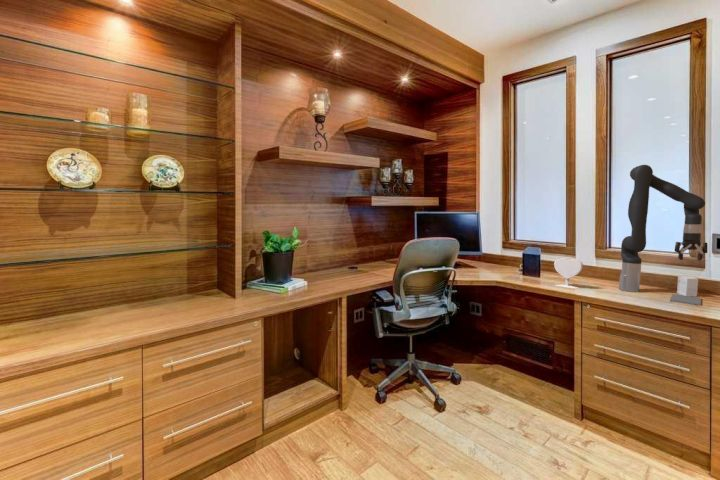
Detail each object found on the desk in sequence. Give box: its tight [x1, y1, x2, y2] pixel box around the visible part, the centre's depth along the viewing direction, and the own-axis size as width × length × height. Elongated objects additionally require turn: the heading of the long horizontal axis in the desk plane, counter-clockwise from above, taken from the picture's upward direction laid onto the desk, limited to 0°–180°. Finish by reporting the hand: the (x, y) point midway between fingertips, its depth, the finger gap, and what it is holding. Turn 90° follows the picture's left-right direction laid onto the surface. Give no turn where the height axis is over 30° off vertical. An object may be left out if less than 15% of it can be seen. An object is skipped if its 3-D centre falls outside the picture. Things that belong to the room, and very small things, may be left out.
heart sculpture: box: [553, 257, 584, 290], centre depth 226 cm, size 16×5×18 cm, turn 42°
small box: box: [676, 275, 699, 297], centre depth 206 cm, size 8×6×10 cm
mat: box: [669, 293, 702, 306], centre depth 194 cm, size 18×12×1 cm, turn 136°
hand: (690, 260), depth 205 cm, fingers open, 8 cm apart
